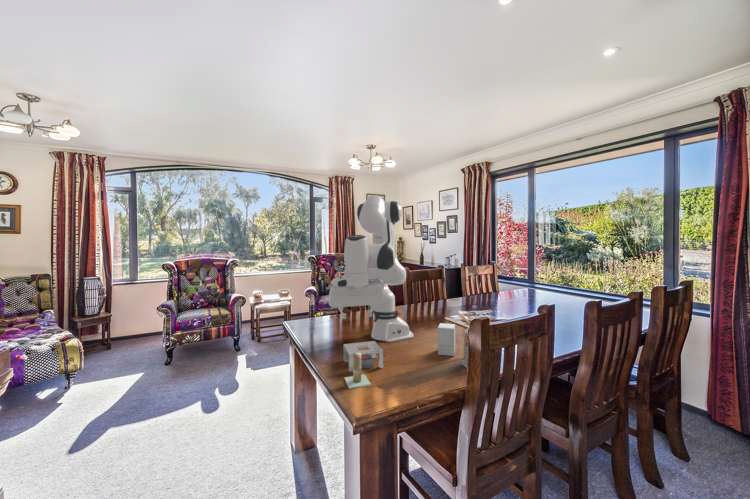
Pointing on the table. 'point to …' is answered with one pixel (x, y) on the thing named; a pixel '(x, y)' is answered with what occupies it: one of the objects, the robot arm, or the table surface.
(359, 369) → the dowel
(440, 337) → the supplement box
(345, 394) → the table surface
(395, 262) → the robot arm
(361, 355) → the button
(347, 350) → the box
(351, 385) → the coaster
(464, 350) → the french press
